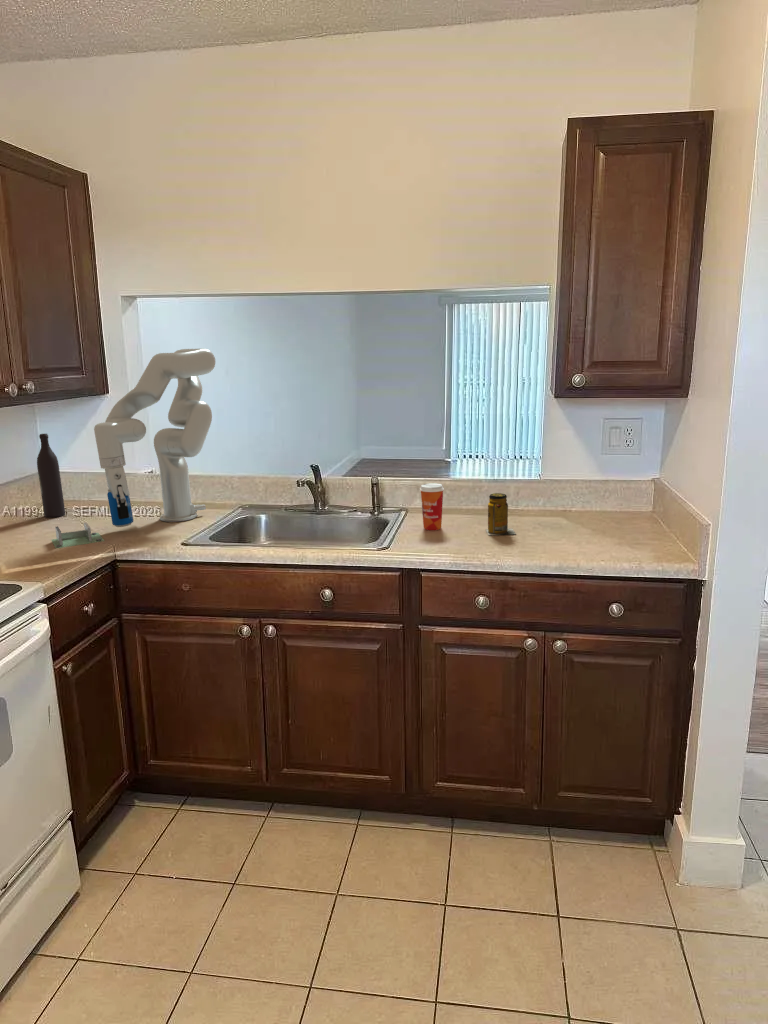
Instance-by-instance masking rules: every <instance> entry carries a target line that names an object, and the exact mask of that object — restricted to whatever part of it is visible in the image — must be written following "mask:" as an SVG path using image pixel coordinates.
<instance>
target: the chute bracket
mask: <svg viewBox="0 0 768 1024" xmlns="http://www.w3.org/2000/svg"><path fill="white" fill-rule="evenodd" d="M83 527H84V528H83V529H81V530H74V531H67V532H62V531H61V529H60V527H59V526H58V525H57V526H55V536H56V539H57V541H58V543H59V545H61V546H63V541H62V540H65V539H71V538H78V537H85V536H86V538H87V539H88V541H89V542H92V537H91V534H92V532H91V531H92V530H91V527H90V525H89V524H88V523H87V522H86V521H85V522H83Z"/></svg>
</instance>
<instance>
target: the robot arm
mask: <svg viewBox="0 0 768 1024" xmlns="http://www.w3.org/2000/svg"><path fill="white" fill-rule="evenodd" d="M215 357H216V356H215V355H214V353H213V352H212V351H211V350H209V349H207V348H182V349H177V350H176V351H174V352H159V353H156V354H155V355H153V356H152V357H151V359H150V361H149V362H148V364H147V365H146V368H145V369H144V371H143V373H142V375H141V376H140V379H139V380H138V382H137V384H136V385H135V387H134V388H133V389H131V390H130V391H129V392H127V394H125V395H124V396H122V398H120V399H119V400H118V401H117V402H116V403H115V404H114V405H113V406H112V408H111V410H110V412H109V414H108V416H107V417H106V419H105V421H104V422H99V423H97V424H95V425H94V426H93V430H94V436H95V442H96V443H95V444H96V448H97V453H98V460H99V465H100V469H104V472H105V479H106V484H107V491H108V490H109V491H111V493H112V495H113V498H115V499H116V502H117V506H118V507H117V512H118V518H119V519H124V518H129V512H128V506H127V503H126V498H125V495H126V496H127V497H128V496H129V497H130V490H129V485H128V480H127V475H126V472H125V469H124V466H126V465H127V464H126V460H125V459H126V457H125V453H124V452H125V451H124V446H123V444H124V443H125V444H126V443H136V442H140V441H141V440H142V439H143V438H145V436H146V433H147V426H146V424H145V423H144V422H143V421H141V420H140V419H137V418H133V416H135V415H136V414H137V413H139V412H140V411H141V410H144V409H146V408H149V407H151V406H153V405H155V404H156V403H158V402H159V401H160V400H161V398H162V396H163V394H164V393H165V391H166V389H167V388H168V385H169V384H170V382H171V380H172V379H177V387H176V391H175V394H174V397H173V399H172V402H171V404H170V407H169V411H168V412H167V413H168V414H167V415H168V416H167V418H168V422H169V423H170V424H171V425H173V426H174V427H166V428H162V429H160V430H158V431H157V432H156V433H155V435H154V437H153V447H154V448H153V449H154V451H155V453H156V457H157V461H158V467H159V477H160V484H161V485H160V486H161V488H160V489H161V495H162V505H163V514H161V515H160V516H159V521H162V522H167V523H168V522H169V523H171V522H172V523H173V522H174V523H176V522H178V523H179V522H185V521H189V520H193V519H195V518H198V511H204V510H206V507H207V506H206V504H205V503H204V504H194V503H193V502H192V496H191V485H190V477H189V476H190V474H189V467H188V462H187V461H186V458H194V457H196V456H198V454H199V453H200V452H201V451H202V449H203V446H204V444H205V441H206V438H207V435H208V432H209V430H210V427H211V425H212V420H213V419H212V418H213V414H212V409H211V407H210V406H209V404H208V403H207V402H205V401H203V400H201V398H202V395H203V385H202V382H201V379H200V378H199V377H200V376H203V375H207V374H209V373H211V372H213V369H214V368H215V367H216V358H215ZM177 427H178V428H177ZM124 493H125V494H124ZM117 495H119V496H120V497H117ZM118 499H120V500H119V501H118Z"/></svg>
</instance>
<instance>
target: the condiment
mask: <svg viewBox="0 0 768 1024" xmlns="http://www.w3.org/2000/svg"><path fill="white" fill-rule="evenodd" d="M507 497H508V496H507V494H505V493H501V492H495V493H491V494H489V495H488V498H489V499H488V501H489V502H488V503H487V528H486V529H485V532H486V533H487V535H488V536H504V535H510V536H511V535H517V533H516V532H515V531H514V529H513V528H509V526H508V525H509V524H508V523H509V522H508V520H509V519H508V518H509V513H508V512H509V504H508V499H507Z"/></svg>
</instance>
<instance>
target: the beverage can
mask: <svg viewBox="0 0 768 1024" xmlns="http://www.w3.org/2000/svg"><path fill="white" fill-rule="evenodd" d="M107 491H108V492H107V501H108V505H109V506H108V507H109V511H110V517H111V523H112V525H113V526H114V527H117V528H123V527H124V528H125V527H128V526H131V525H132V523H134V516H133V515H134V514H133V510H132V506H131V505H132V504H131V499H130V495H129V496H128V497H127V496H126V495H125V498H126V503H127V506H128V512H129V518H124V519H119V518H118V512H117V507H118V506H117V502H116V499H115V498H113V495H112V493H111V491H109V490H108V489H107ZM124 494H125V493H124ZM117 497H120V496H119V495H117ZM119 500H120V499H118V501H119Z"/></svg>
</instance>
